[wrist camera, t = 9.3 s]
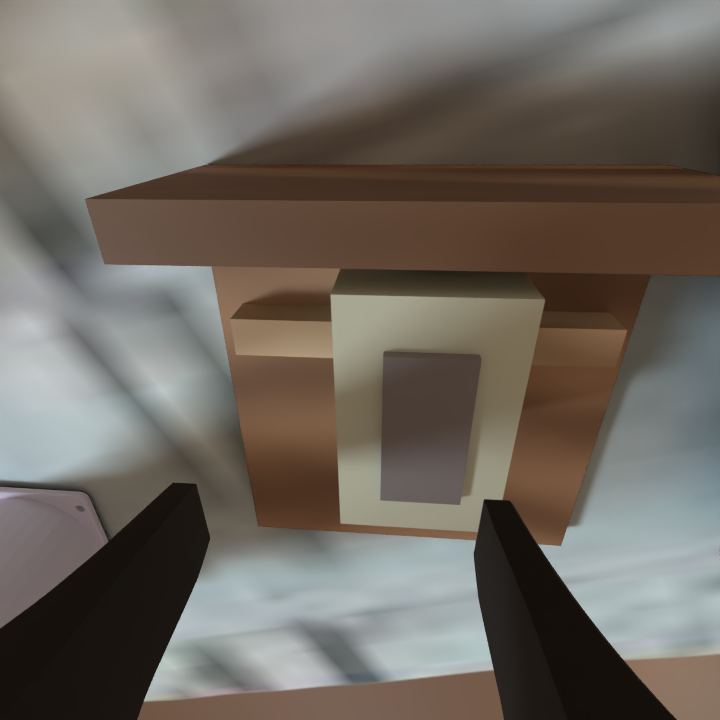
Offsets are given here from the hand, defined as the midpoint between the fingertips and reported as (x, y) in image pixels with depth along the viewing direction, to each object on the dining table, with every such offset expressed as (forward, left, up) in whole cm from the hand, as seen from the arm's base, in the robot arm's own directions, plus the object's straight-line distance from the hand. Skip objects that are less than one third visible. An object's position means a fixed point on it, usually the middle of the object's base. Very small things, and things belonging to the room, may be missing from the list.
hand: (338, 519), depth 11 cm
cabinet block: (+1, -2, -8) cm, 9 cm away
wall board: (-2, -2, -9) cm, 10 cm away
